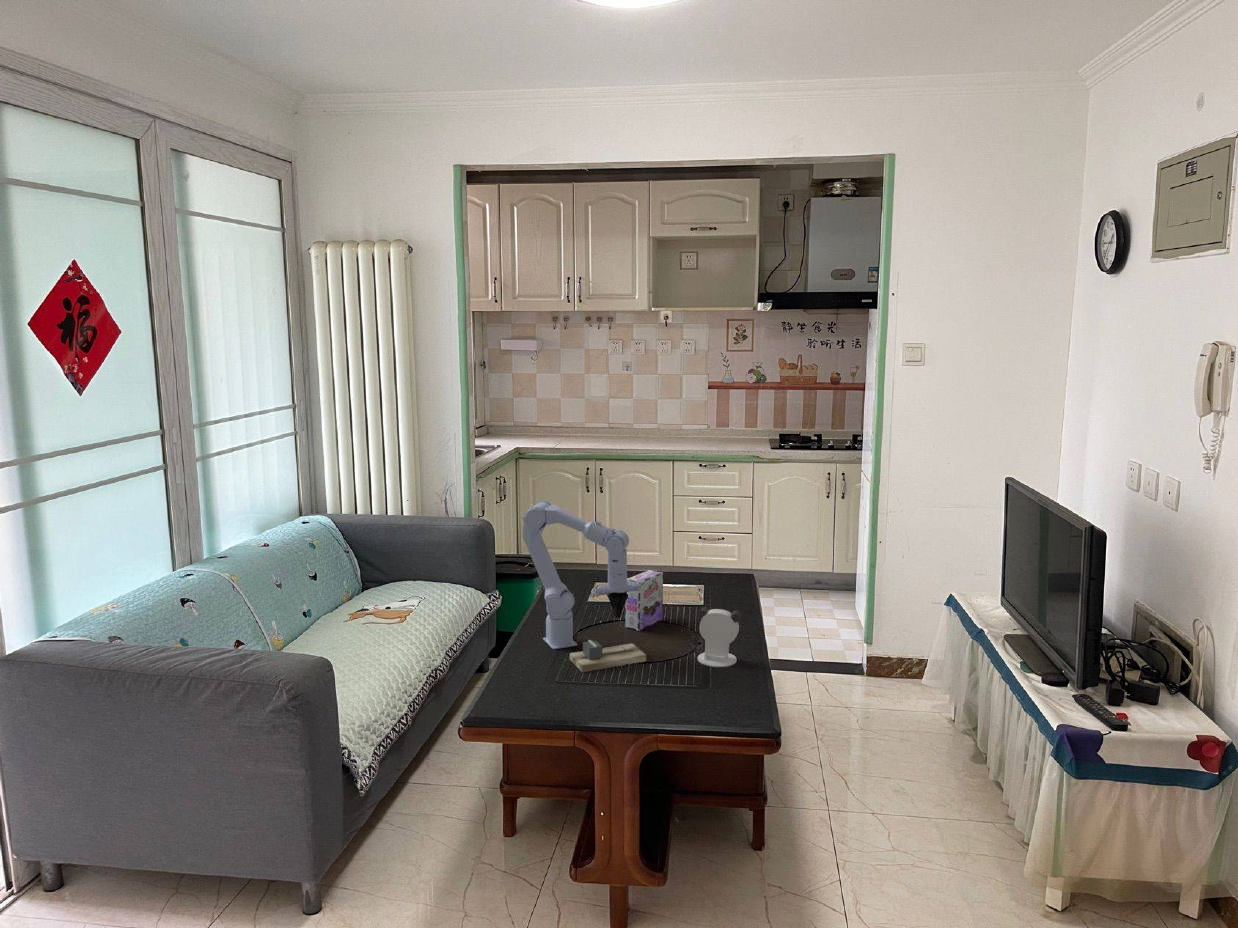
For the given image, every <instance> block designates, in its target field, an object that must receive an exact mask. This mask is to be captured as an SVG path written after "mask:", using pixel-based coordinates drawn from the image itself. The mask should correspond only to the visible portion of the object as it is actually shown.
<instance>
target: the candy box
mask: <svg viewBox="0 0 1238 928" xmlns="http://www.w3.org/2000/svg"><path fill="white" fill-rule="evenodd" d="M628 583H639V584H640V585H641V591H630V592H627V594H628V598H627V600H626V602H625V604H624V628H627V629H629V630H630V629H631V630H634V631H638V632H639V631H641V630H643V629H646V628H649V627H650V626H652V625H655V624H657V623H659V622H661V621H663V616H664V615H663V612H664V610H663V609H664V606H663V603H664V601H663V600H664V595H663V593H664V572H659V571H656V570H650V569H647V570H646V571H644V572H642V573H638V574H636V575H632V576H631V577H627V584H628Z"/></svg>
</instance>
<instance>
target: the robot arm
mask: <svg viewBox="0 0 1238 928" xmlns="http://www.w3.org/2000/svg"><path fill="white" fill-rule="evenodd" d="M522 521H523V525H522V527H523V528H522V537H523V541H524V544H525V545H526V548H527V550H528V552H529V554H530V558H531V560H532V562H533V565H534V568H535V569H536V572H537V573H538V577H539V578H540V581H541V584H542V586H543V588H544V601H545V604H546V605H545V606H546V607H545V609H546V612H547V616H546V619H545V637H542V640H543V641H544V642H545V643H546V644H547V645H548V646H549V647H550V648H551V649H552V650H557V649H563V648H564V649H565V648H570V647H577V646H578V643H577V642H576V641H574V640H573V639H574V638H573V637H574V636H573V632H574V631H573V630H574V629H573V627H574V626H573V624H574V623H573V620H574V619H573V618H574V617H573V611H572V609H573V607H574V605H575V602H576V601H575V599H576V598H575V596H574V594H573V593H571V592H570V591H569V589H568V587H567V586H566V584H564V583H563V582H562V581H561V578H560V576H559V574H558V572H557V570H556V567H555V564H554V562H553V560H552V557H551V555H550V553H549V550H548V548H547V545H546V543H545V541H544V538H543V536H542V534H543V532H544V530H545V528H546V525H547V526H548V525H553V524H554V525H555V524H561V525H563V526H566V527H568V528H571V529H573V530H575V531H578V532H580V533H582V535H583V537H584V538H585V539H586V540H588V541H590V542H592V543H594V544H597V545H598V546H601V547H603V548H605V549H606V551H607V584H606V585H603V586H600V587H598V588H597V587H596V588H593V596H594V597H595V598H597V597H600V596H607V598H608V601H609V602H610V606H611V608H612V612H613V616H614V617H615V618H621V616H622V612H623V609H624V607H625V602H626V600H627V598H628V594H627V592H630V591H641V585H640V584H639V583H628V584H627V578H628V557H627V555H628V554H627V553H628V551H627V547H628V546H629V543H630V538H629V536H628V535H627V533H626V532H624V531H623V530H619V529H618V530H616V529H615V528H610V527H608V526H605V525H603V524H601V523H602V522H601V521H600V520H596V521H595V520H592V521H589V522H588V521H585V520H584V519H582V518H580V517H579V516H576V515H575V514H572V513H571V512H568V511H566V510H565V509H564V508H563V509H562V508H561V507H559V506H558V505H557V504H554V503H550V502H549V501H547V500H541V501H539V502H537V503H536V504H535V505H533V506H531V507H529V508H528V509H527V510H526V512H525V513H524V515H523V516H522Z"/></svg>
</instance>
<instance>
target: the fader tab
mask: <svg viewBox="0 0 1238 928" xmlns="http://www.w3.org/2000/svg"><path fill="white" fill-rule="evenodd" d="M602 648H603V645H601V644H600V643H599V641H597V640H591V639H588V640H587V641H583V642H582V651H583V653H584V654H585V655H586V656H587V657H588V658H589V659H593V658H599V657H602Z"/></svg>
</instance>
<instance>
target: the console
mask: <svg viewBox="0 0 1238 928" xmlns="http://www.w3.org/2000/svg"><path fill="white" fill-rule="evenodd" d="M569 661H571V662H572V663H573V665H574V666H576V668H577V669H578V670H579V671H580V672H581V673H586V672H592V671H599V670H603V669H604V670H605V669H609V668H615V667H614V666H616V667H621V666H627V665H626V664H628V665H633V663H634V664H639V662H640V663H644V662H645V661H646V662H647V654H646V653H645V652H643V651H642V650H641V649H640V648H639V647H637V646H636V645H635V644H634V643H624V644H619V645H612V646H607V647H602V657H599V658H593V659H589V658H588V657H587V656H586V655H585V654H584V653H583V650H582V651H576V652H570V653H569Z"/></svg>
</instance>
